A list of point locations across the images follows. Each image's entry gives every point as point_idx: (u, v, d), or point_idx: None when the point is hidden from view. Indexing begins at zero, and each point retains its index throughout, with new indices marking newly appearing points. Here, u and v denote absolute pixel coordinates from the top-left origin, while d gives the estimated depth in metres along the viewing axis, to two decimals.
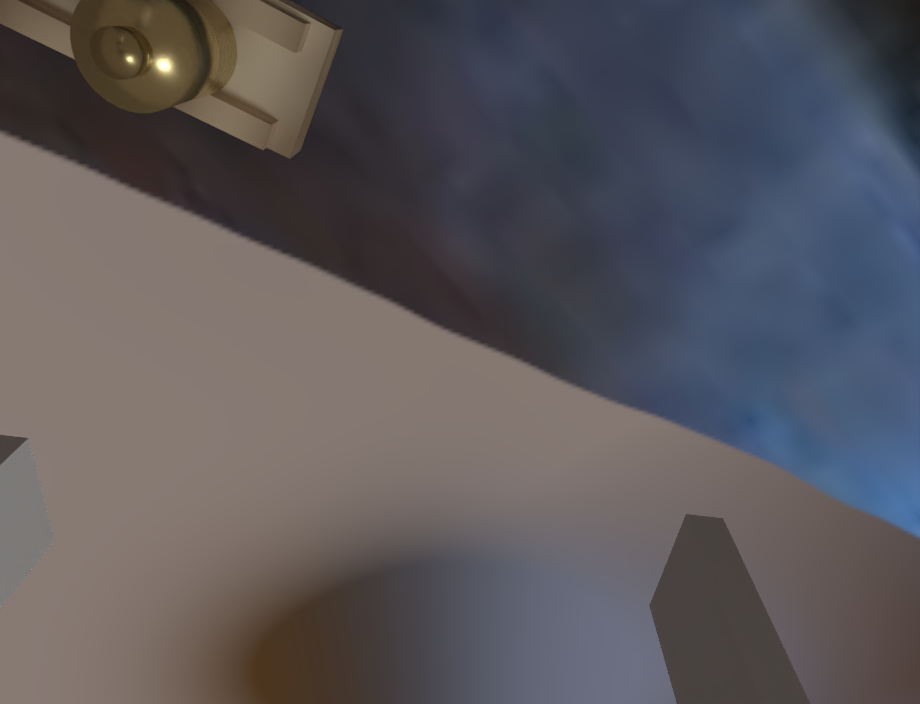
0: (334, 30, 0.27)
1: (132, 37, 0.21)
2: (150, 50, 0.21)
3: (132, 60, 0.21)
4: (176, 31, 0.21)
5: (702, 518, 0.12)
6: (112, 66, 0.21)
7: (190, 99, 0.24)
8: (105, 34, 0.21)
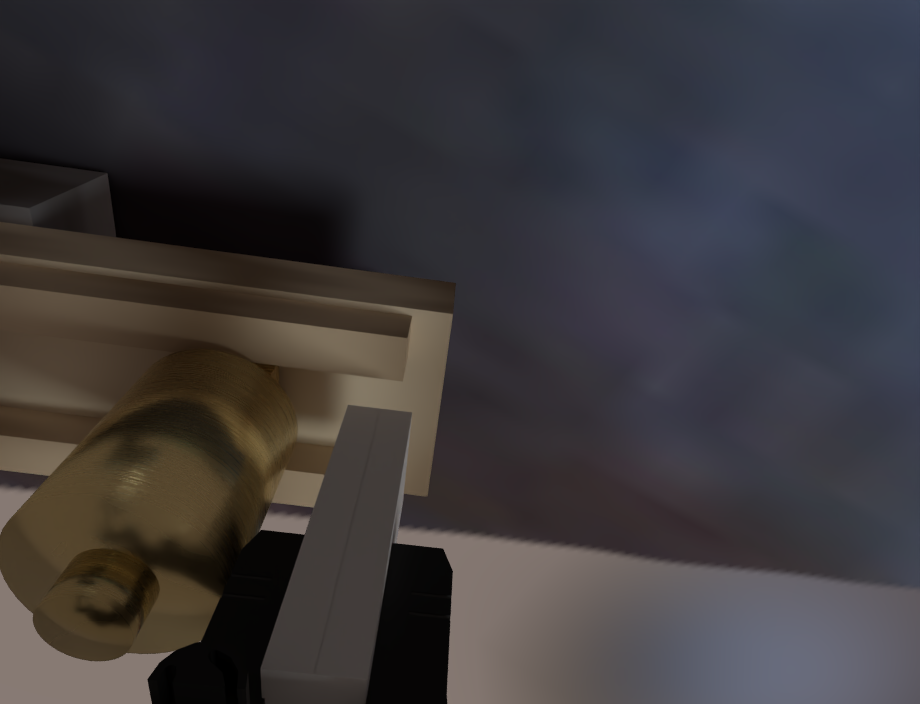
0: (451, 313, 0.16)
1: (104, 597, 0.10)
2: (147, 577, 0.11)
3: (118, 632, 0.10)
4: (183, 535, 0.11)
5: (393, 411, 0.14)
6: (87, 646, 0.11)
7: None
8: (54, 610, 0.10)
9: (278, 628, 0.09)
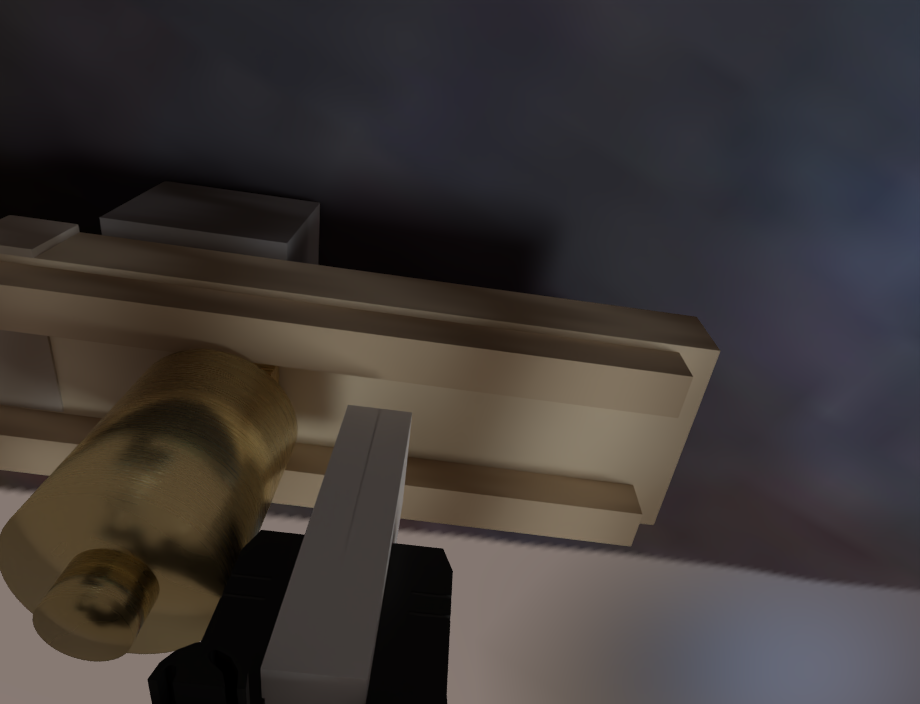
0: (717, 349, 0.16)
1: (105, 596, 0.10)
2: (146, 578, 0.11)
3: (118, 632, 0.10)
4: (183, 535, 0.11)
5: (393, 411, 0.14)
6: (87, 647, 0.11)
7: None
8: (53, 610, 0.10)
9: (278, 628, 0.09)
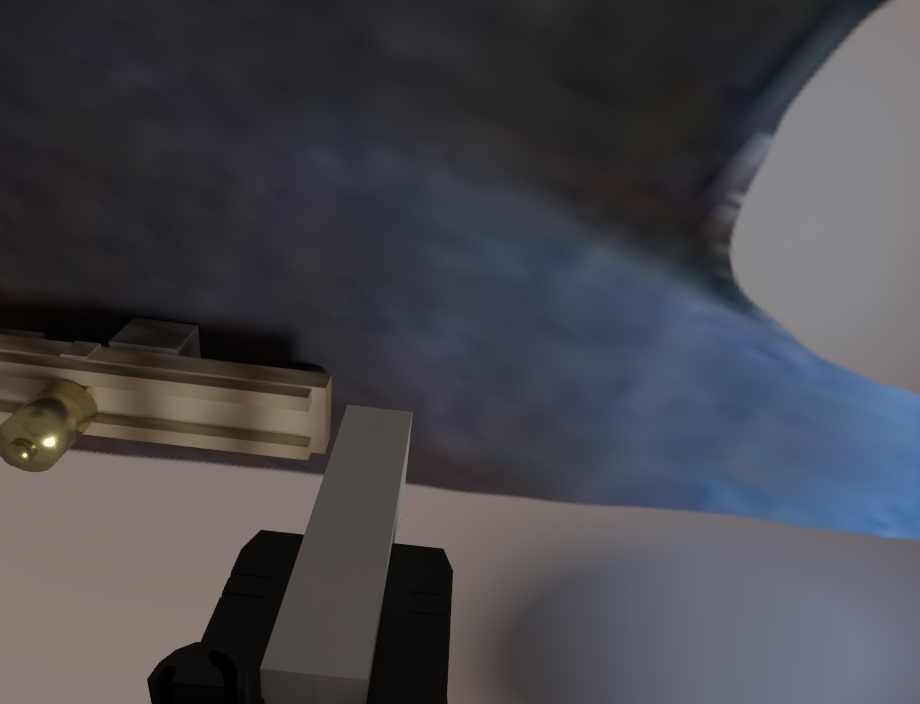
0: (325, 387, 0.46)
1: (19, 448, 0.40)
2: (32, 445, 0.40)
3: (23, 457, 0.40)
4: (41, 433, 0.40)
5: (393, 411, 0.14)
6: (16, 462, 0.40)
7: (71, 445, 0.43)
8: (6, 451, 0.40)
9: (278, 628, 0.09)
